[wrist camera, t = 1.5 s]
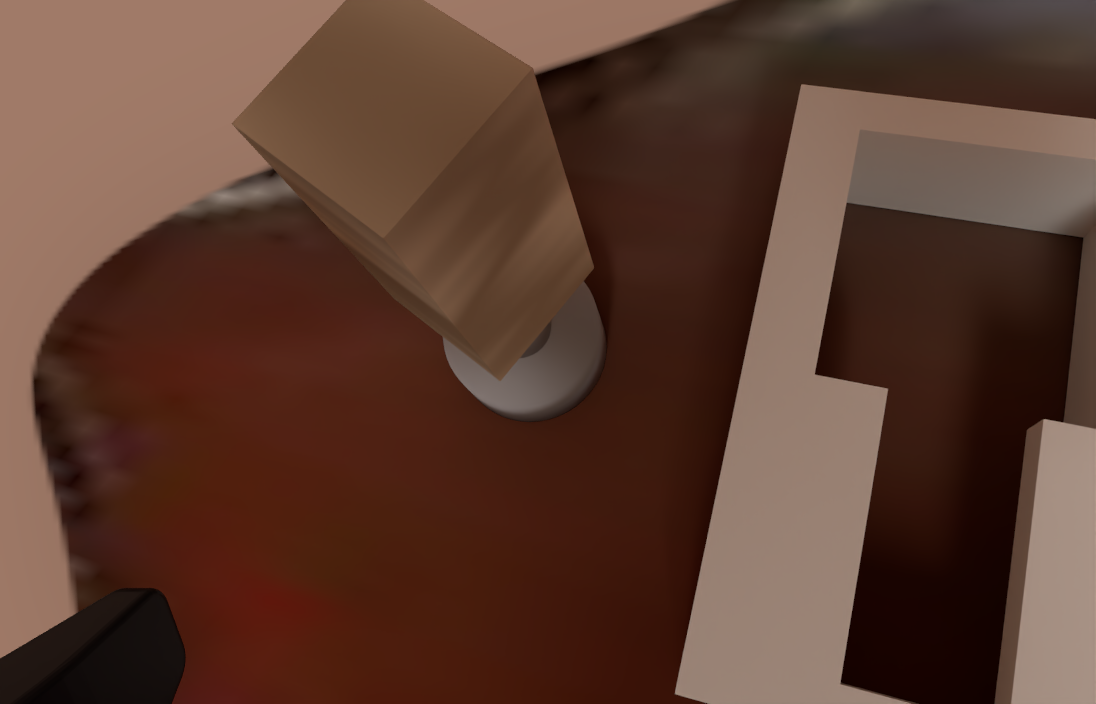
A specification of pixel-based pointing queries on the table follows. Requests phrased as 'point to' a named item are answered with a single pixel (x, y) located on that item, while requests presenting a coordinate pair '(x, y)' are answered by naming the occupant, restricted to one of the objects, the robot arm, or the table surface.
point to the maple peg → (443, 194)
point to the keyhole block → (858, 409)
